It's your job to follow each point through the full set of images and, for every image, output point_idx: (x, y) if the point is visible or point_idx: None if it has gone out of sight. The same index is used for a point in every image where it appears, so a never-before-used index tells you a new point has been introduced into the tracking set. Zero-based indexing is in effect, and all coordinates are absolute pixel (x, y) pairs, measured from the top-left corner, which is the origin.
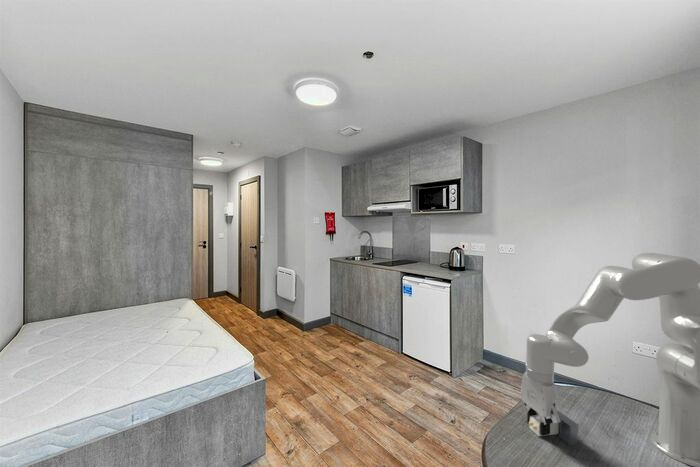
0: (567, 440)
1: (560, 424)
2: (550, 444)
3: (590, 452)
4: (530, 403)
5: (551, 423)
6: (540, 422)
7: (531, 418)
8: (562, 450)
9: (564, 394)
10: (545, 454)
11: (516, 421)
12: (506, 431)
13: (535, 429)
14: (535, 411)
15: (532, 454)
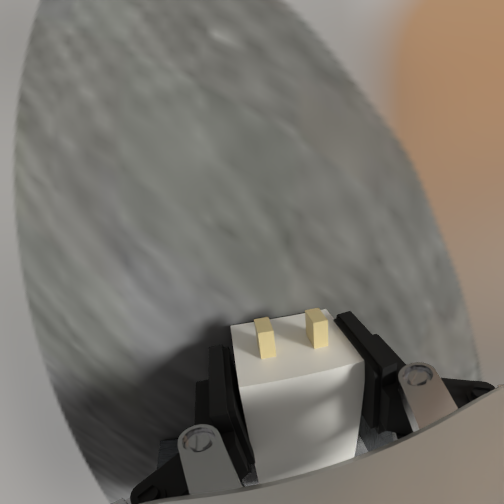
0: (174, 451)
1: None
2: (159, 355)
3: (134, 475)
4: (405, 502)
5: (255, 464)
6: (263, 409)
7: (338, 361)
8: (117, 387)
9: None
10: (65, 264)
11: (395, 249)
12: (299, 96)
13: (255, 331)
14: (382, 427)
15: (59, 169)
